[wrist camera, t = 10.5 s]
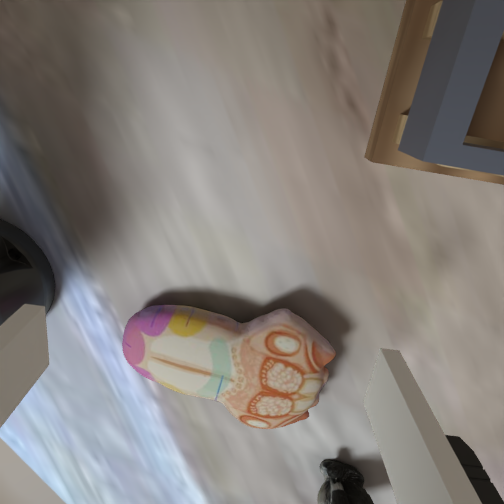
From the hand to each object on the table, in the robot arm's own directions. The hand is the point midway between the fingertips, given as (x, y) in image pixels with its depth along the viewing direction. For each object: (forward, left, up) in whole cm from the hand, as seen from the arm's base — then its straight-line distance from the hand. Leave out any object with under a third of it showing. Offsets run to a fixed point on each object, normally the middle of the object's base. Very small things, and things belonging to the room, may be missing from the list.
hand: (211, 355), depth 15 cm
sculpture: (+1, -21, -28) cm, 35 cm away
